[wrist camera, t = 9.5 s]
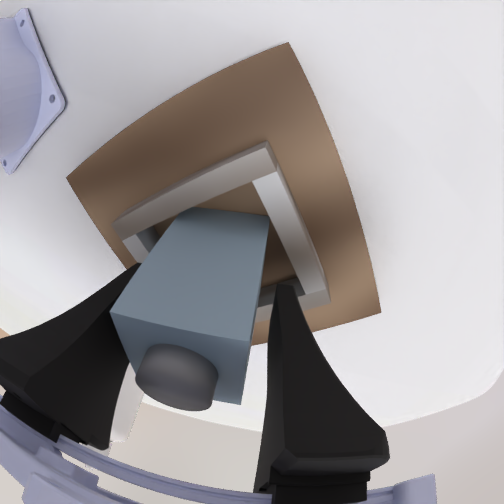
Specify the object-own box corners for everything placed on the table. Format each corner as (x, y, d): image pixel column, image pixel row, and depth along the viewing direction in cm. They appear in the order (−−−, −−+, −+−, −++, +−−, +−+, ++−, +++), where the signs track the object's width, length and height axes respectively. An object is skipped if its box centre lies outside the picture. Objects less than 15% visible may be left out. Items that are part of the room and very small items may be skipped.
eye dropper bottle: (113, 369, 26) (74, 461, 16) (107, 341, 22) (56, 450, 12) (149, 383, 26) (116, 481, 16) (149, 358, 23) (106, 475, 13)
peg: (185, 206, 13) (93, 337, 6) (270, 216, 13) (243, 374, 6) (188, 272, 15) (130, 402, 8) (261, 284, 15) (236, 428, 8)
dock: (76, 171, 13) (49, 188, 11) (288, 45, 9) (289, 35, 7) (201, 344, 20) (194, 371, 18) (377, 301, 16) (386, 330, 14)
